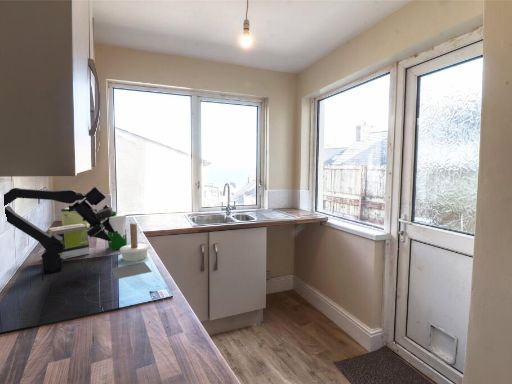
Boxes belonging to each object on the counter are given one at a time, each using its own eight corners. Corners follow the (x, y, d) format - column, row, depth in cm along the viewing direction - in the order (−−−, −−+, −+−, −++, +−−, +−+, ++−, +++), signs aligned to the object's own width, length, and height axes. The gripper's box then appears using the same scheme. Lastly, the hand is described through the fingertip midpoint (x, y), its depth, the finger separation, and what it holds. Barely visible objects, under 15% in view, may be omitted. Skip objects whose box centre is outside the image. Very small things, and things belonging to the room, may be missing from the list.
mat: (115, 280, 113) (115, 279, 113) (110, 269, 125) (110, 268, 125) (152, 272, 121) (152, 271, 121) (144, 263, 133) (144, 262, 133)
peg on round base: (133, 254, 131) (131, 227, 130) (113, 250, 136) (112, 225, 135) (154, 247, 142) (153, 222, 141) (135, 243, 148) (134, 220, 147)
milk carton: (106, 247, 157) (104, 211, 155) (122, 244, 164) (121, 209, 162) (112, 251, 151) (110, 213, 149) (129, 247, 158) (127, 211, 156)
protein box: (87, 230, 198) (86, 208, 196) (62, 231, 194) (60, 209, 193) (92, 227, 208) (91, 206, 206) (68, 228, 204) (66, 206, 203)
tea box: (84, 250, 153) (82, 222, 152) (89, 254, 146) (88, 225, 144) (50, 256, 143) (48, 227, 141) (54, 261, 135) (52, 230, 134)
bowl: (124, 263, 132) (124, 253, 132) (120, 257, 141) (120, 248, 141) (149, 258, 138) (149, 249, 138) (144, 253, 148) (143, 244, 147)
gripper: (97, 207, 120) (123, 233, 126) (106, 195, 138) (129, 219, 144) (75, 224, 120) (102, 249, 125) (86, 210, 137) (110, 232, 143)
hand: (112, 236), depth 134 cm, fingers open, 9 cm apart
